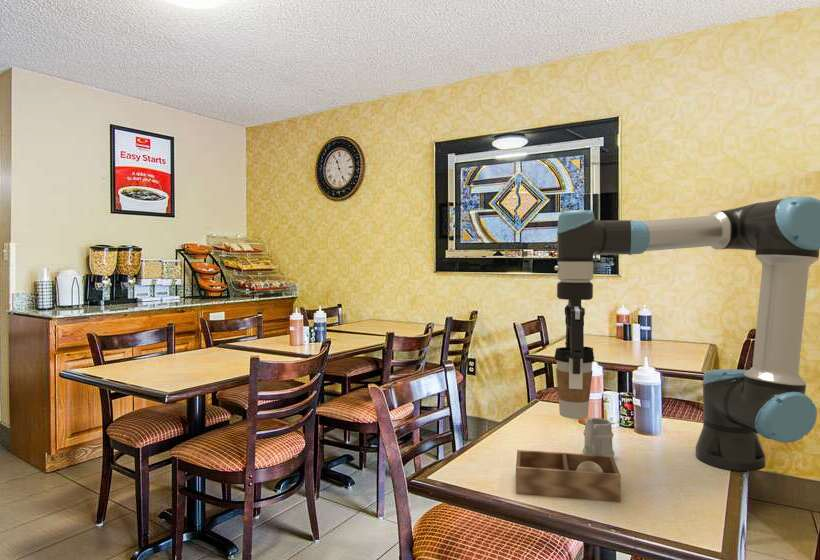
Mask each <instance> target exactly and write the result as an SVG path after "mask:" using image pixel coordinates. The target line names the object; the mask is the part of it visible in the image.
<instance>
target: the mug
mask: <svg viewBox="0 0 820 560" xmlns="http://www.w3.org/2000/svg"><path fill="white" fill-rule="evenodd" d="M584 420H585V421H584V423H585V424H584V430H583V435H584V447H583V448H582V454H591V455H606V456H613V458H614V457H615V451H614V450H613V449H614V448H613V447H614V446H613V436H614V433H613V430H612V422H611V420H609V419H606V418H600V417H590V418H588V417H587V418H585V419H584Z"/></svg>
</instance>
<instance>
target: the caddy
mask: <svg viewBox="0 0 820 560" xmlns="http://www.w3.org/2000/svg"><path fill="white" fill-rule="evenodd" d="M515 460H516V462H515V494H516V495H524V496H526V495H527V496H536V497H537V496H539V497H550V498H563V499H573V500H574V499H575V500H587V501H598V502H599V501H601V502H611V503H621V502H622V501H621V499H622V498H621V497H622V496H621V495H622V494H621V493H622V492H621V490H622V489H621V483H622V482H621V479H622V477H621V474H620V470H619V468H618V466H617V463H616V461H615V459H614V457H613V456H606V455H591V454H583V453H574V452H573V453H571V452H556V451H555V452H554V451H541V450H524V449H517V451H516V459H515ZM585 461H592V462H595V463H596V464H598V465H599V466H600V467H601V468H602V470H603V473H602V472H588V471H576V469H577V467H578V466H579V464H581V463H582V462H585Z"/></svg>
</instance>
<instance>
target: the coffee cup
mask: <svg viewBox="0 0 820 560" xmlns="http://www.w3.org/2000/svg"><path fill="white" fill-rule="evenodd" d="M567 355H570V347H566V346H563V347H557V348H555V351H554V356H553V357H554V360H555V362H556V369H555V374H556V385H557V398H558V407H559V408H558V410H559V415H560V416H561V417H563V418H567V419H571V420H572V419H575V420H582V419H583V420H584V419H587V418H588V416H589V415H588V414H589V407H590V405H589V403H590V399H591V398H590V396H591V388H592V379H593V378H592V377H593V363H594V362H595V355H594V348H593V347H590V346H584V357H583V389H569V358H567Z"/></svg>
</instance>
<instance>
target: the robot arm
mask: <svg viewBox="0 0 820 560" xmlns="http://www.w3.org/2000/svg"><path fill="white" fill-rule="evenodd" d="M556 234H557V265H555V266H554V270H555V271H557V280H559V281H558V282H557V284H556V298H557V299H559V300H565V301H566V300H567V303H568V304H566V305H565V307H564V315H565V318H564V319H565V341H564V343H565V347H570V355H567V358H569V389H583V357H584V347H585V345H584V339H585V338H584V337H585V336H584V326H585V314H586V310H585V308H584V307H582V301H583V300H584V301H588V300H592V299H593V298H594V297H593V295H594V284H593V283H592V282H591V281H592V280H593V279H594V256H610V255H611V256H612V255H628V256H631V255H641V254H643V253H645V252H653V251H665V250H679V249H691V248H703V247H711V248H712V249H714V250H716V251H717V250H719V251H720V250H742V251H743V250H744V251H745V250H746V251H755V254H754V257H755V258H756V259H757V260H758V261H759V262H760V264H761V276H760V286H759V297H758V305H757V307H758V308H757V316H756V326H755V338H754V339H755V340H754V349H753V357H752V366H751V368H749V369H737V368H735V369H734V368H732V369H731V368H730V369H729V368H720V369H719V368H717V369H709V370H707V371H705V372H704V373H703V378H702V379H703V380H702V387H703V388H702V393H703V394H702V395H703V396H702V399H703V401H702V406H703V407H702V408H703V409H702V410H703V411H702V416H703V417H702V419H703V420H702V421H703V423H702V425H703V426H702V429H701V431H700V434H699V437H698V439H697V442H696V444H695V457H696V458H697V459H698V460H700V461H701V462H703V463H705V464H708V465H710V466H712V467H713V466H714V467H715V468H716V467H717V468H720V469H724V470H725V469H726V470H731V471H738V472H756V471H760V470H763V469H764V468H765V467H766V454H765V452H764V450H763V446H762V444H761V441H760V438H759V435H760V436H761V437H763V438H765V439H767V440H772V441H774V442H775V441H776V442H778V443H784V444H786V443H787V444H788V443H795V442H797V441H800V440H802V439H804V437H805V436H807V435H809V433H811V431H812V430H813V429H814V427H815V424H816V422H817V417H818V412H817V411H818V410H817V407H816V406H817V405H816V404H815V403H813V402H814V401H813V400H812V399H811V398H810V397H809V396H807V394H806V387H807V383H806V381H805V380H804V379H803V377H802V376H800V374H799V373H800V372H799V371H800V363H801V362H800V361H801V351H802V342H803V341H802V340H803V332H804V331H803V329H804V321H805V313H806V312H805V309H806V301H807V290H808V282H809V272H810V271H809V270H810V267H811V266H812V265H813V264H814V263H816V262H817V261H819V256H820V199H818V198H816V197H812V196H789V197H785V198H780V199H775V200H769V201H768V200H767V201H764V202H763V201H762V202H760V201H759V202H756V203H752V204H747V205H743V206H739V207H736V208H730V209H725V210H716V211H713V212H711V213H710V214H709V215H703V216H702V215H701V216H688V217H676V218H665V219H654V220H653V219H651V220H633V219H628V220H626V219H623V220H622V219H621V220H611V219H610V220H601V219H599V220H598V219H596V217H595V215H594V211H592V210H588V209H587V210H586V209H571V210H565V211H562V212H560V214H559V215H558V220H557V231H556Z"/></svg>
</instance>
